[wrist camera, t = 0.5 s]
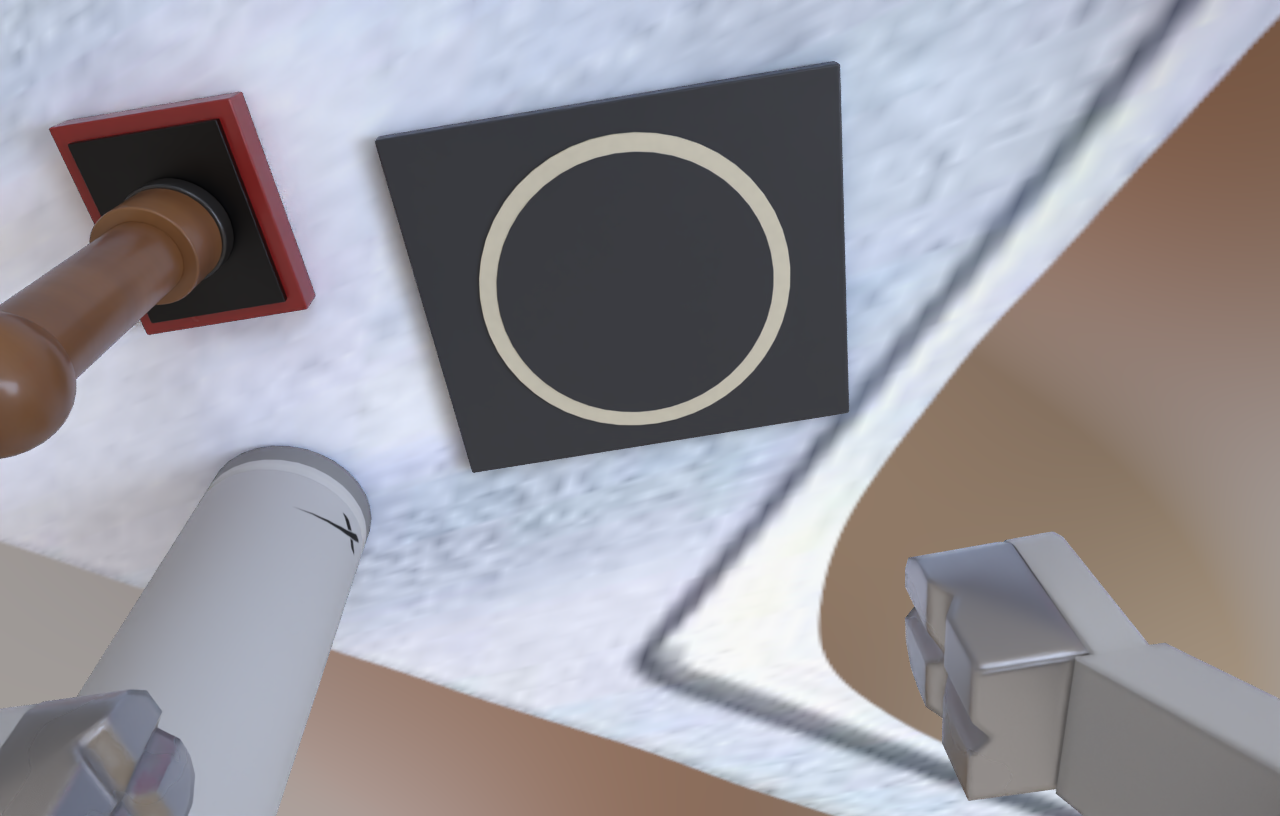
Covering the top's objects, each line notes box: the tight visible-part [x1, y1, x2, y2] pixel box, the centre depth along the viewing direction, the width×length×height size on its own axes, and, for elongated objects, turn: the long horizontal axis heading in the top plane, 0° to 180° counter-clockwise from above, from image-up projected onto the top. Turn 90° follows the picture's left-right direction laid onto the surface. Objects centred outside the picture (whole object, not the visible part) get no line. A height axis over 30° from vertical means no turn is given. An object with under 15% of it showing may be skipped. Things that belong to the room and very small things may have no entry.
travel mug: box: [77, 446, 371, 816], centre depth 26 cm, size 6×7×20 cm
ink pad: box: [49, 92, 315, 335], centre depth 28 cm, size 7×6×2 cm
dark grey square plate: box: [375, 61, 849, 473], centre depth 31 cm, size 13×15×1 cm
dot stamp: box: [0, 178, 234, 459], centre depth 22 cm, size 3×3×12 cm
